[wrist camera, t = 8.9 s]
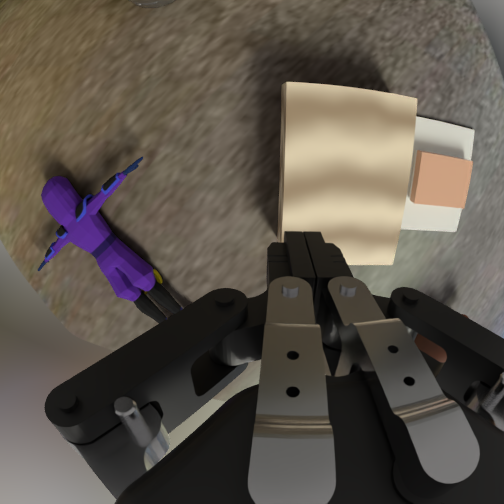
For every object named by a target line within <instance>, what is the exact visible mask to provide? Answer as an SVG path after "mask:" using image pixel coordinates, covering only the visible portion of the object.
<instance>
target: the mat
mask: <svg viewBox="0 0 504 504" xmlns="http://www.w3.org/2000/svg"><path fill="white" fill-rule="evenodd" d="M474 131H475V130H472V129H469V128H465V127H461V126H457V125H453V124H449V123H445V122H441V121H436V120H432V119H427V118H422V117H417V116H416V125H415V136H414V145H413V154H412V162H411V170H410V177H409V184H408V190H407V196H406V202H405V208H404V214H403V219H402V224H401V229H409V230H430V231H449V232H456V230H457V227H458V223H459V218H460V214H461V210H462V208H454V207H444V206H434V205H424V204H414V203H413V202H411V201H410V199H409V193H410V187H411V181H412V174H413V167H414V160H415V152H416V150H421V151H427V152H433V153H438V154H444V155H449V156H454V157H459V158H464V159H468V160H470V161H471V155H472V148H473V140H474Z"/></svg>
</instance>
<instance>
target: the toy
mask: <svg viewBox="0 0 504 504" xmlns="http://www.w3.org/2000/svg"><path fill="white" fill-rule="evenodd" d="M142 159H143V157H141V158H139V159H138V160H136V161H135V162H134V163H133V164H132V165H130V166H129V167H128V168H127V169H126V170H125V171H123V172H121V173H117V174H115V175H114V176H113V177H111V178H110V179H109V180H108V181H107V182H106V183H104V184H103V185H102V188H101V191H100V192H99V193H97V194H96V195H95V196H93V195H91V194H89V195H87V196H86V197H85V198H84V199H83V200H82V198H81V197H80V196H79V195H78V193H77V192H76V191H75V189H74V188H73V186H72V185H71V183H70V182H69V180H68V179H67V178H65V177H62V176H56V177H53V178H51V179H50V180H49V181H48V182H47V183H46V184H45V186H44V187H43V191H42V194H41V196H42V200H43V203H44V205H45V206H46V208H47V210H48V212H49V213H50V214H51V215H52V216H53V217H54V219H55V220H56V221H57V222H58V223H59V224H61V226H60V228H59V229H58V230H57V231H56V236H57V237H58V239H57V241H56V242H53V243H52V244H51V246H50V247H49V249H48V250H47V252H46V254H45V260H44V261H43V262H42V264H41V265H40V267H39V268H38V271H40V270H41V269H42V267H43V266H44V265H45V264H46V263H47V262H49V260H50V259H52V258H53V257H54V256H55V255H56V254H57V253H58V252H59V251H60V250H61V248H62V247H63V246H65V245H66V244H67V243H69V242H72V243H73V244H75V245H76V246H78V247H80V248H82V249H84V250H86V251H88V252H89V253H91V254H92V255H93V256H94V257H95V258H96V260H97V263H98V265H99V267H100V269H101V271H102V272H103V273H104V275H105V276H106V277H107V279H108V281H109V282H110V284H111V286H112V288H113V290H114V291H115V293H116V295H117V297H120V298H124V299H127V300H130V301H133V302H134V303H135V305H136V306H137V308H138V309H139V310H140V311H141V312H142V313H144V314H146V315H147V316H149V317H151V318H153V319H154V320H155V321H157V322H158V323H159V324H160V323H161V322H163V321H164V320H166V319H168V318H167V317H166V316H165V315H164V314H163V313H162V312H161V311H160V310H159V309H158V307H157V306H156V305H155V304H154V303H153V302H152V301H151V300H150V299H149V298H148V297H147V296H146V294H147V292H148V293H149V294H150V295H151V296H152V297H153V298H154V299H155V300H156V301H157V302H158V303H159V304H161V305H162V306H164V307H165V308H167V309H168V310H170V311H171V312H172V313H173V314H176V313H177V312H179V311H180V310H182V309H183V308H182V307H181V306H180V305H179V304H178V303H177V302H176V301H175V299H174V298H173V297H172V296H171V295H170V293H169V292H168V291H167V290H166V289H165V288H164V287H163V286H162V285H161V284H162V282H163V281H162V278H161V276H160V274H159V273H158V272H157V271H156V270H155V269H153V268H152V266H151V265H149V264H148V263H147V262H145V261H144V260H143V259H142V258H140V257H139V256H138V255H137V254H136V253H135V252H133V251H132V250H131V249H130V248H129V247H127V246H126V245H125V244H124V243H123V242H122V241H121V240H120V239H118V238H117V237H116V236H115V234H114V233H113V232H112V231H111V229H110V228H109V226H108V225H107V223H106V222H105V220H104V219H103V217H102V216H101V215H100V213H99V212H98V210H99V209H100V207H101V206H102V204H103V203H104V201H105V200H106V199H107V198H108V197H109V196H110V195H112V193H113V192H114V191H115V190H116V189H117V187H118V186H119V185H120V184H121V182H122V181H123V180H124V178H125V177H126V176H127V174H128V173H130V172H131V171H133V170H135V169H136V168H137V167H138V165H137V164H138V163H139V162H140V161H141V160H142Z"/></svg>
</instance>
